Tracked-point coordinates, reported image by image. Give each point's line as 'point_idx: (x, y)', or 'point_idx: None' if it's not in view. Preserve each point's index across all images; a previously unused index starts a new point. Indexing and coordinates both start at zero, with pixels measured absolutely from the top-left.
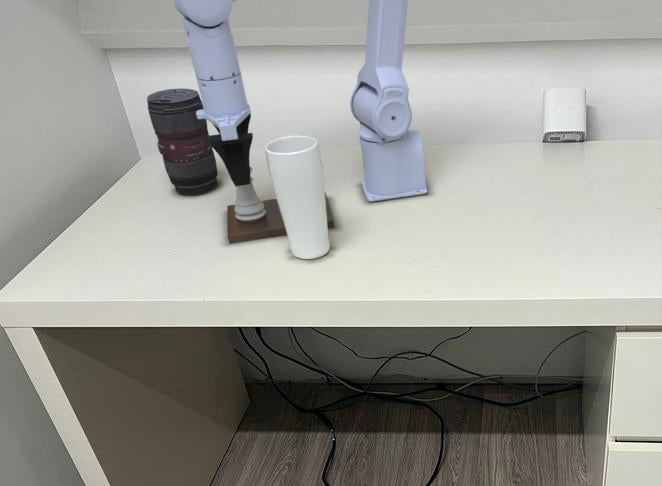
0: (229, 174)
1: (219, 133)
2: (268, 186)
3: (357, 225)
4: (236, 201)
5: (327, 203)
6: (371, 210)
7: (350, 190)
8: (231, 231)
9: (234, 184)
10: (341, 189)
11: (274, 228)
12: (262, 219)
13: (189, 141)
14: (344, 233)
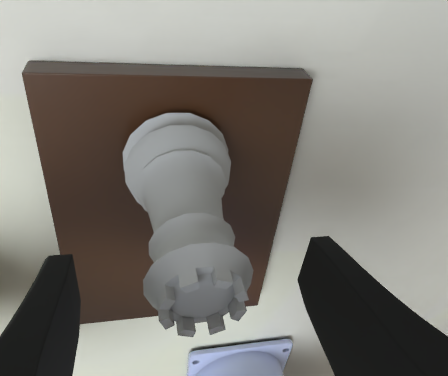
0: (21, 304)
1: (422, 373)
2: (418, 179)
3: (80, 338)
4: (186, 155)
5: None
6: (151, 352)
7: (273, 322)
8: (62, 88)
9: (46, 261)
10: (288, 309)
11: (55, 214)
12: None
13: None
14: None
